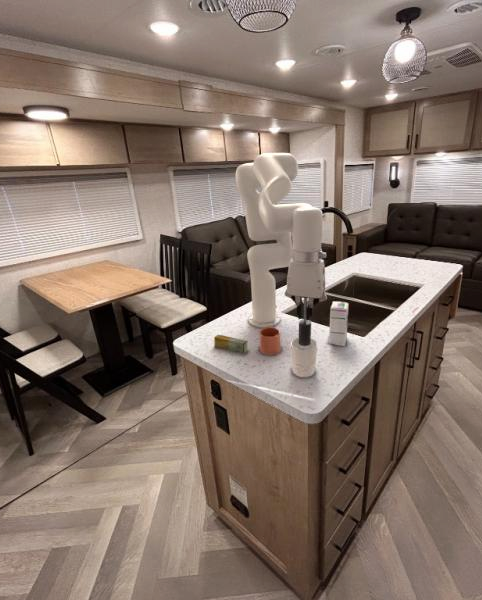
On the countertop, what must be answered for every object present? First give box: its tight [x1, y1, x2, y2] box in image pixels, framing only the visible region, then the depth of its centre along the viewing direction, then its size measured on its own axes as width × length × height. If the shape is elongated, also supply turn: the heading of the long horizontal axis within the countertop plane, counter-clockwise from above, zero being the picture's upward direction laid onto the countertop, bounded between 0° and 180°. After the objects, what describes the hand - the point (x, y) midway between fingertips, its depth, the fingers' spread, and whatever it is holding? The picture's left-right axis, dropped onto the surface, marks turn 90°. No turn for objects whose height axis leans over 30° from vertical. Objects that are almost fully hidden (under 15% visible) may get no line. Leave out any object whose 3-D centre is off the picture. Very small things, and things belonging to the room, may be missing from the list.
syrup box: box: [328, 301, 350, 347], centre depth 112 cm, size 6×6×14 cm
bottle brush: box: [298, 297, 312, 346], centre depth 91 cm, size 4×4×21 cm
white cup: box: [290, 337, 319, 378], centre depth 97 cm, size 8×8×10 cm
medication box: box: [213, 334, 248, 354], centre depth 111 cm, size 12×3×4 cm, turn 67°
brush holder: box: [258, 326, 282, 356], centre depth 109 cm, size 7×7×7 cm
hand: (304, 317), depth 92 cm, fingers closed
